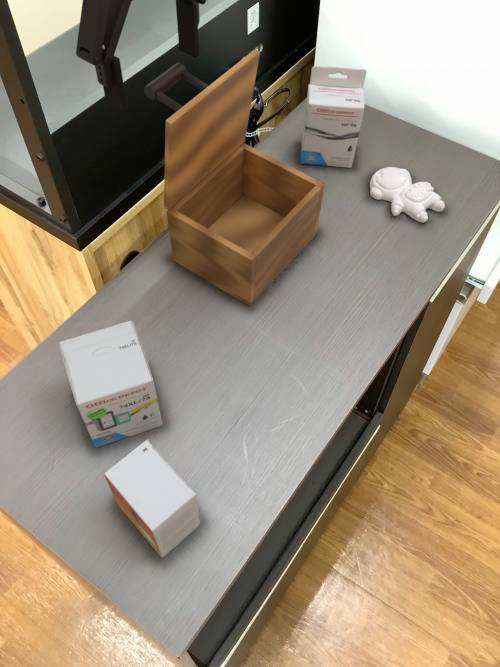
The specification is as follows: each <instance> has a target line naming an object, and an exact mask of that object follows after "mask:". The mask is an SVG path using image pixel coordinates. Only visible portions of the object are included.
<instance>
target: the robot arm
mask: <svg viewBox="0 0 500 667" xmlns="http://www.w3.org/2000/svg"><path fill="white" fill-rule="evenodd" d="M133 1H134V0H82V2H81V9H80V10H81V11H80V19H79V25H78V26H79V27H78V34H77V42H76V49H75V55H76V57H77V58H78V59H81V60H83V61H85V62H87V63H88V64H91V65H93V66H94V68H95V73H96V79H97V82H98V83H99V85H101V86H102V88H103V93H104V98H105V103H106V104H108V105H109V106H111V107H113V108H115V109H117V110H119V111H121V112H125V111H126V110H129V109H128V104H127V96H126V91H125V85H124V84H125V83H124V77H123V73H122V72H123V71H122V65H121V59H120V57H118V56H116V55H115V54H116V50H117V47H118V44H119V42H120V39H121V35H122V33H123V29H124V26H125V23H126V20H127V16H128V14H129V11H130V8H131V4H132V3H133ZM206 2H207V0H175V10H176V12H175V13H176V23H177V36H178V37H177V38H178V50H179V51H180V52H182V53H184V54H186V55H188V56H190V57H193V58H198V57H200V41H199V40H200V39H199V37H200V36H199V25H200V21H201V20H200V5H205V3H206Z"/></svg>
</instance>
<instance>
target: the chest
mask: <svg viewBox="0 0 500 667" xmlns="http://www.w3.org/2000/svg"><path fill="white" fill-rule="evenodd" d="M325 186H326V185H325V183H324V182H322V181H320V180H318V179H316V178H314V177H311V176H310V175H308V174H306V173H303V172H302V171H300V170H298V169H296V168H294V167H292V166H291V165H288V164H286V163H285V162H282V161H281V160H278V159H276V158H275V157H272V156H271V155H269V154H267V153H264V152H262V151H260V150H259V149H256V148H254V147H253V146H250V145H249V144H246V143H245V142H243V143H242V144H241V145H240V146H239V147H238V148H237V149H236V150H235V151H233V152H232V153H231V154H230V155H229V156H228V157H227V158H226V159H225V160H223V161H222V162H221V163H220V164H219V165H218V166H217V167H216V168H215V169H213V170H212V171H211V172H210V173H209V174H208V175H207V176H206V177H205V178H203V179H202V180H201V181H200V182H199V183H198V184H197V185H196V186H195V187H194V188H192V189H191V190H190V191H189V192H188V193H187V194H186V195H185V196H184V197H182V198H181V199H180V200H179V201H178V202H177V203H176V204H175V205H174V206H172V207H171V208H170V209H169V210H166V217H167V224H168V226H167V227H168V231H169V233H168V234H169V240H170V248H171V255H172V257H171V258H172V261H174V262H175V263H177V264H179V265H180V266H182V267H184V268H185V269H187V270H188V271H190V272H192V273H193V274H195V275H197V276H198V277H200V278H202V279H203V280H205V281H206V282H208V283H210V284H212V285H213V286H214V287H217V288H218V289H220V290H222V291H223V292H224V293H226V294H228V295H230V296H231V297H234V298H235V299H237V301H240V302H242V303H243V304H245V305H247V306H248V307H250V308H251V307H252V306H253V305H254V304H255V303H256V301H257V300H258V299H259V298H260V297H261V296H262V295H263V294H264V293H265V291H266V290H268V288H269V287H270V286H271V285H272V284H273V283H274V282H275V280H276V279H277V278H278V277H279V276H280V275H281V274H282V273H283V271H284V270H286V268H287V267H288V266H289V265H290V264H291V263H292V261H293V260H294V259H295V258H296V257H297V256H298V255H299V254H300V253H301V251H302V250H304V248H305V247H306V246H307V245H308V244H309V243H310V242H311V241H312V239H313V238H314V237H315V236H316V235H317V233H318V227H319V222H320V216H321V208H322V203H323V197H324V191H325Z"/></svg>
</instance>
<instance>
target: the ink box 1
mask: <svg viewBox="0 0 500 667" xmlns="http://www.w3.org/2000/svg"><path fill="white" fill-rule="evenodd" d="M58 347H59V351H60V354H61V358H62V361H63V364H64V368H65V371H66V376H67V378H68V382H69V386H70V389H71V392H72V395H73V400H74V401H75V405H76V407H77V409H78V412H79V414H80V416H81V418H82V421H83V423H84V426H85V428H86V430H87V432H88V434H89V436H90V439H91V441H92V443H93V446H94V448H97V449H98V448H100V447H102V446H106V445H109V444H111V443H114V442H117V441H121V440H123V439H126V438H129V437H133V436H135V435H139V434H142V433H145V432H148V431H150V430H153V429H156V428H159V427H162V426H163V420H162V416H161V411H160V406H159V401H158V396H157V392H156V388H155V383H154V382H155V381H154V379H153V375H152V372H151V369H150V368H151V367H150V364H149V362H148V359H147V356H146V353H145V350H144V348H143V344H142V342H141V339H140V336H139V334H138V331H137V328H136V327H135V324H134V321H133V320H127V321H124V322H121V323H118V324H114V325H111V326H107V327H104V328H102V329H101V328H100V329H98V330H94V331H91V332H88V333H84V334H80V335H78V336H74V337H71V338H68V339H64V340H62V341H61V340H60V341H59V342H58Z"/></svg>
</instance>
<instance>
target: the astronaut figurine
mask: <svg viewBox="0 0 500 667" xmlns="http://www.w3.org/2000/svg"><path fill="white" fill-rule="evenodd" d="M369 189H370V191H369V196H370V197H371V198H373V199H375V200H378V201H380V200H383V201H387V202H390V203H391V204H390V211H391V214H392V216H393V217H398V216H399V215H400V214H401V213H405V214H406V215H408V216H409V217H410V218H411V219H412V220H415V221H416V222H418V223H422V224H424V223H426V222H427V221H428V220H429V216H428V212H427V211H426V210H428V209H430V210H432V211H434V212H437V213H442V212H443V211H444V210H445V208H446V205H445V201H444V200H442V197H441V196H440V195H439V194H438V193H437V192H435V191H434V190H435V187H434V186H432V184H431V183H430V182H428V181H422V180H421V181H419V182H415V183H413V181H412V177H411V174H410V171H409V170H408V169H406V168H400V167H395V166H386V167H383V168H380V169H378V170H377V171H376V172H374V173H373V175H372V176H371V178H370V180H369Z"/></svg>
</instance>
